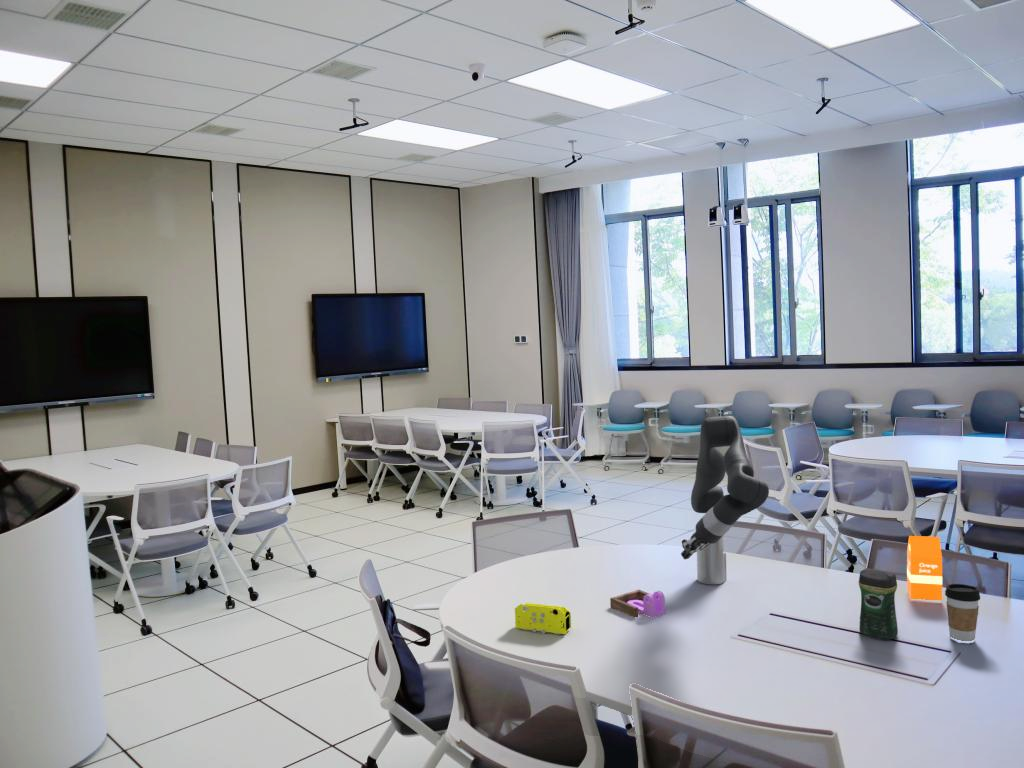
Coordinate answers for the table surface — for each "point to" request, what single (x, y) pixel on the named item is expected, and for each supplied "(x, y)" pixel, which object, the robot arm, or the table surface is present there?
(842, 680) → the table surface
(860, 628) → the coffee jar
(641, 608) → the bracket
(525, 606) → the yellow toy chassis
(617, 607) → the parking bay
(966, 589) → the coffee cup
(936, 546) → the orange juice
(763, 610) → the table surface
